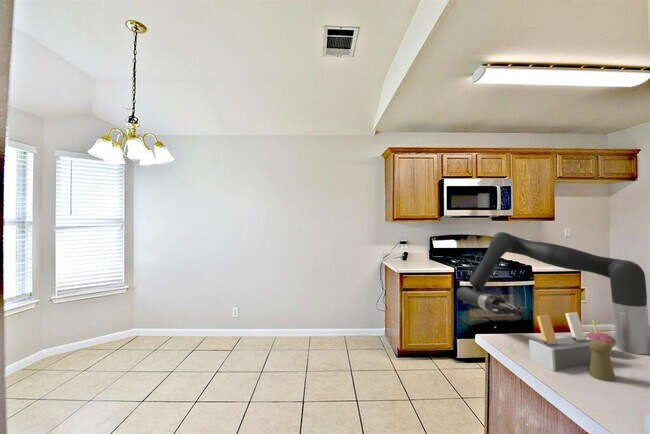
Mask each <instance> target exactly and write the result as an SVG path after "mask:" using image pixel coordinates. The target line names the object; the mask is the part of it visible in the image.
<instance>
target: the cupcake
mask: <svg viewBox="0 0 650 434" xmlns="http://www.w3.org/2000/svg"><path fill="white" fill-rule="evenodd" d="M592 326H593V330H594V331H592V332H588V333H587V334H585V336H586V337H587V338H590V339H593V340H600V341H604V342H606V343H608V344H609V345H610V347H611V352H612V350H613V348H615V347H616V345H617V343H616V338H615V337H612V336H611V335H610V334H607V333H603V332H598V329H597V326H596V321H595V320H594V318H592ZM611 352H610V353H609V356H610V355H611Z"/></svg>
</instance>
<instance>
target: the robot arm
mask: <svg viewBox="0 0 650 434" xmlns="http://www.w3.org/2000/svg"><path fill="white" fill-rule="evenodd" d="M506 253H511V254H515V255H516V254H517V255H521V256H525V257H528V258H530V259H532V260H536V261H538V262H541V263H543V264H546V265H550V266H554V267H556V268H562V269H564V270H573V271H578V272H579V271H581V272H588V273H593V274H597V275H600V276H602V277H606V278H608V279H610V296H611V303H612V312H613V313H612V315H613V324H614V335H615V337H614V339H615V340H616V343H617V345H616V346H615V347H616V348H617V349H619V350H621V351H624V352H626V353H627V352H628V353H631V354H638V355H650V322H649V313H648V312H649V311H648V302H647V301H648V293H647V284H646V283H647V280H646V274H645V271H644V270H643V268H642V267H641V266H640V265H639V264H638V263H636V262H633V261H632V260H626V259H619V258H618V259H617V258H614V257H613V258H612V257H607V256H600V255H596V254H593V253H590V252H586V251H583V250H580V249H575V248H573V247H569V246H564V245H560V244H555V243H551V242H543V241H534V240H528V239H524V238H522V237H518V236H515V235H512V234H511V233H507V232H504V231H503V232H502V231H501V232H498V233H495V234H494V235H493V236H492V238H491V241H490V242H489V246H488V248H487V250H486V252H485V254H484V256H483V258H482V260H481V261H480V262H479V264H478V266H477V268H476V269H474V271H473V272H472V274H471V276H470V278H469V280H468V282H469V284H470V285H471V286H473V288H470V287H467V286H461V287H458V289H457V291H456V297H457V298H458V299H459V301H462V302H465V303H467V304H469V305H472V306H473V305H474V306H476V307H478V308H481V309H482V310H484V311H487V312H489V313H492V314H494V315H497V316H498V315H506V316H508V315H511V316H514V315H515V316H517V317H520V318H524V317H525V316H526V312H525V310H522V309H521V306H520V304H519V303H516V304H514V305H513V304H511V303H509V302H507V301H506V300H505V299H504V298H502V297H500V296H497V295H494V294H492V293H491V294H489V293H486V292H485V293H484V292H483V291H484V288H485V286H486V284H487V283H488V281H490V280H489V279H490V278H491V276H492V275H493V272H494V270H495V267H496V266H497V264H498V262H499V261H500V260H501V258H502V257H503V256H504V255H505V254H506Z"/></svg>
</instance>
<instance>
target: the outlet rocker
mask: <svg viewBox="0 0 650 434" xmlns="http://www.w3.org/2000/svg"><path fill="white" fill-rule="evenodd" d="M536 320H537V322H538V326H539V330H540V333H541V337H542V339H543V340H544V341H543V342H544V344H550V343H557V340H556V339H557V337H556V334H555V331H554V328H553V324H552V320H551V318H550V315H548V314H547V315H546V314H545V315H538V316H536Z"/></svg>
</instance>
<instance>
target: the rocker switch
mask: <svg viewBox="0 0 650 434" xmlns="http://www.w3.org/2000/svg"><path fill="white" fill-rule="evenodd" d="M564 314H565V318H566V320H567V324H568V328H569V329H570V334H571V337H572V338H573V340H583V339H586V334H585V331H584V328H583V325H582V322H581V319H580V317H579V313H578V312H577V311H576V312H567V313H564Z"/></svg>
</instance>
